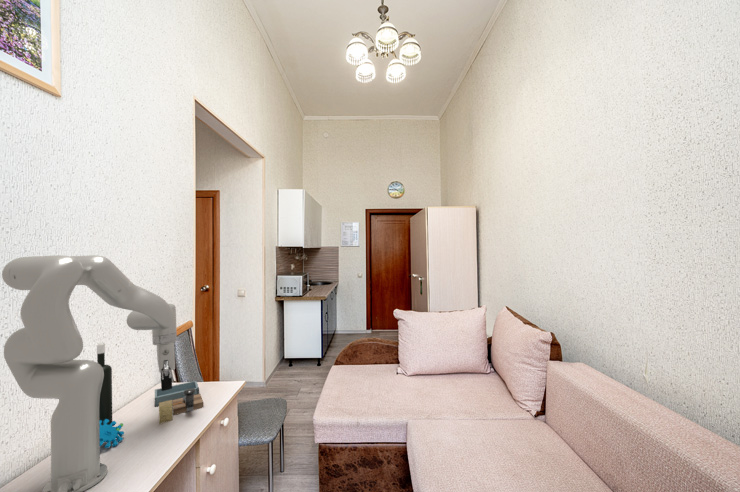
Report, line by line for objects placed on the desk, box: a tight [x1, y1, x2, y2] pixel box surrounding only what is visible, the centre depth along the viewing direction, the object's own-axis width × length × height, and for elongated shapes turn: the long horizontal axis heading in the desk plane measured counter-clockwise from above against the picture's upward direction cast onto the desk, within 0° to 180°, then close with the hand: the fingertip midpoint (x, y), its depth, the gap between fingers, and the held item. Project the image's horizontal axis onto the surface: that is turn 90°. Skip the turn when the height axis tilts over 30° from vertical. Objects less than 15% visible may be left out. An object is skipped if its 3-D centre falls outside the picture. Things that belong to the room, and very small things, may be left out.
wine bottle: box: [96, 342, 113, 425], centre depth 112 cm, size 6×6×30 cm
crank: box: [183, 388, 195, 412], centre depth 124 cm, size 13×4×7 cm, turn 34°
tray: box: [154, 380, 200, 408], centre depth 137 cm, size 11×16×4 cm
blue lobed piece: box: [99, 419, 125, 449], centre depth 103 cm, size 11×6×10 cm
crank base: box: [172, 393, 204, 416], centre depth 128 cm, size 10×10×2 cm
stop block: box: [158, 400, 174, 425], centre depth 118 cm, size 4×4×6 cm
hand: (166, 385), depth 119 cm, fingers open, 9 cm apart
